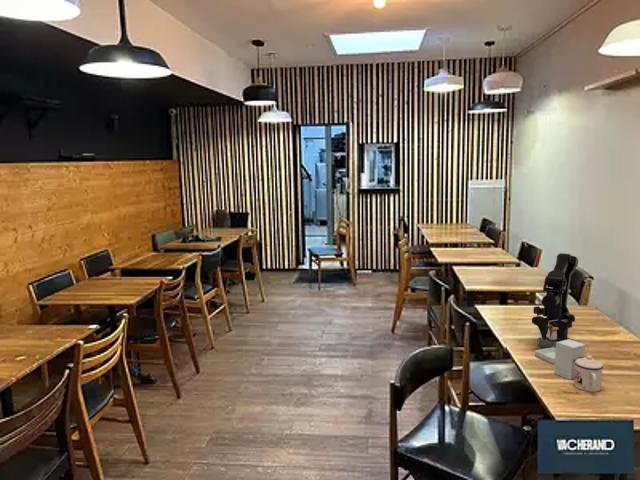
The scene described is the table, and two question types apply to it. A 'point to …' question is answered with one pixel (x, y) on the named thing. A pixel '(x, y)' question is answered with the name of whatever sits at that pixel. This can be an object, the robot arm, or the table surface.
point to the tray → (546, 355)
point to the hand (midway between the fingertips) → (552, 338)
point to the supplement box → (568, 357)
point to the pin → (552, 333)
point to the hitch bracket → (547, 343)
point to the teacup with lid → (588, 374)
